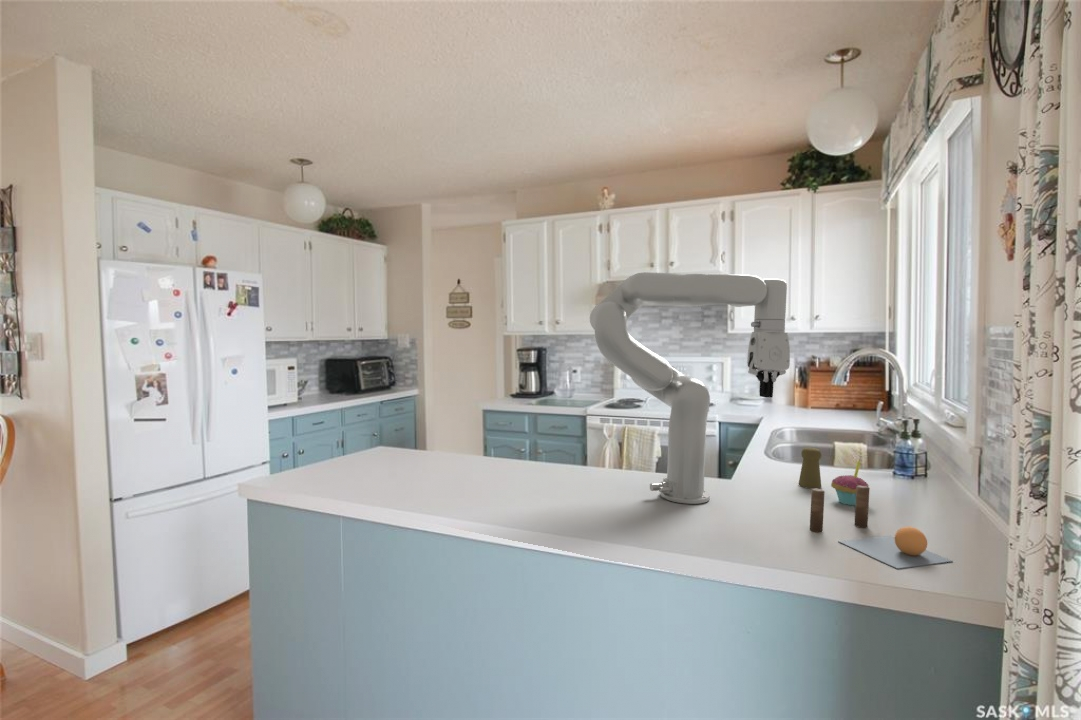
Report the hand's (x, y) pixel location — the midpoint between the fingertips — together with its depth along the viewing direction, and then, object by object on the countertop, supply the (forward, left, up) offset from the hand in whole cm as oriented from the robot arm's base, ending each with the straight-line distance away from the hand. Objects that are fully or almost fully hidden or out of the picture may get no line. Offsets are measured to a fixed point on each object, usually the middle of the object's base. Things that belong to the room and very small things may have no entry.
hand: (766, 396), depth 150 cm
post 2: (+8, -24, -27) cm, 37 cm away
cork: (+22, +7, -27) cm, 36 cm away
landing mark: (+2, -38, -27) cm, 47 cm away
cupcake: (+20, -9, -27) cm, 35 cm away
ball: (+4, -40, -24) cm, 47 cm away
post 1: (-4, -24, -27) cm, 36 cm away
